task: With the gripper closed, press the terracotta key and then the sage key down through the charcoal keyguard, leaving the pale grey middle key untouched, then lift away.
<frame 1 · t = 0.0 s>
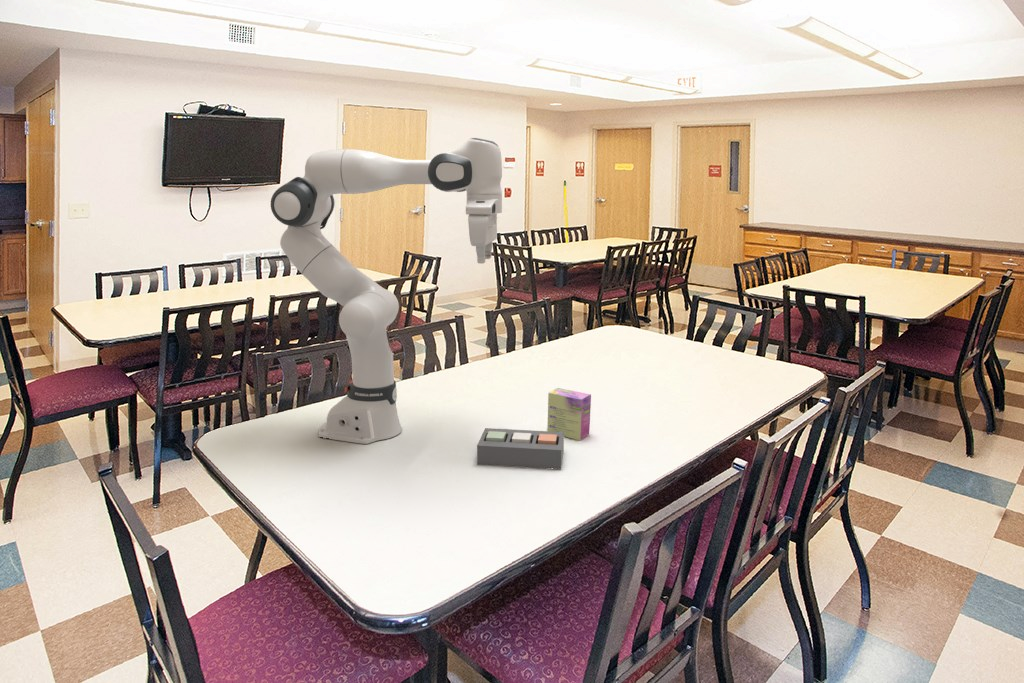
hand: (484, 260, 176), 48 cm above the table, tool pointing down, fingers open, 8 cm apart
keyboard: (521, 457, 174), on the table
key terracotta: (547, 440, 172), point 5 cm above the table, slide at 0.0 cm
key sage: (496, 438, 174), point 5 cm above the table, slide at 0.0 cm
key grey: (521, 439, 173), point 5 cm above the table, slide at 0.0 cm
box: (568, 434, 190), on the table
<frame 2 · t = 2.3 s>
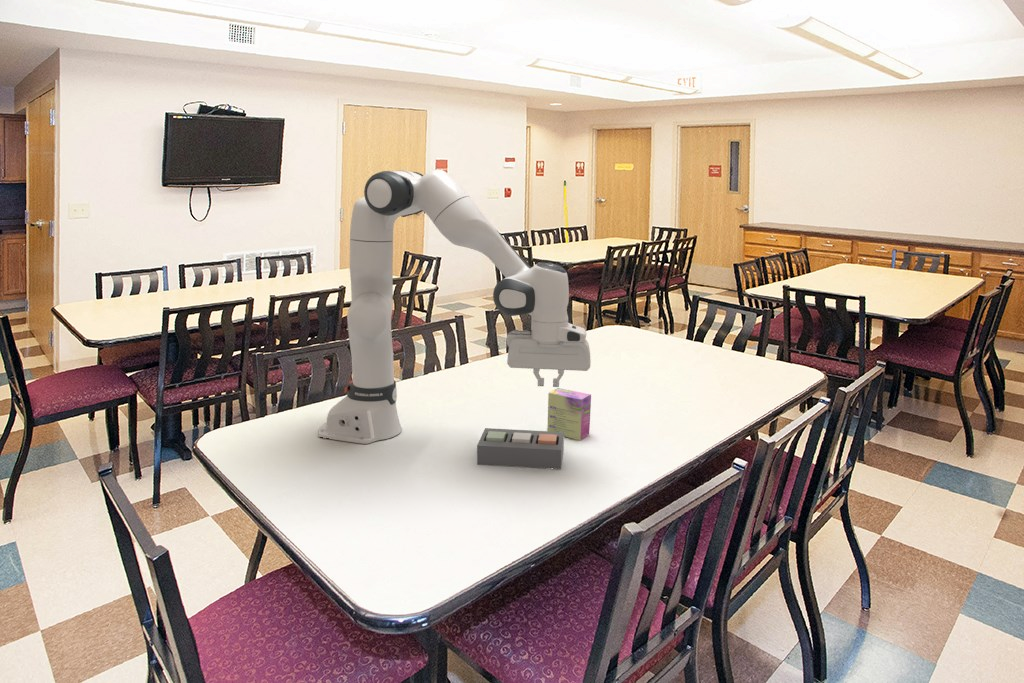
hand: (548, 386, 169), 19 cm above the table, tool pointing down, fingers closed
nothing on the table moved.
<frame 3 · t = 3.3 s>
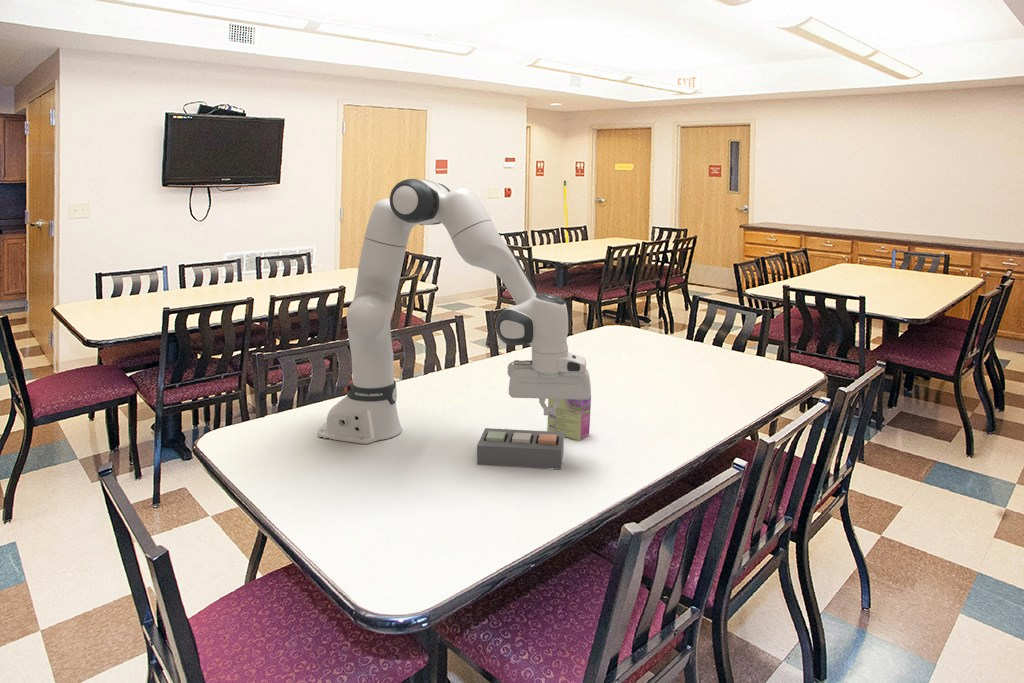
hand: (549, 414, 171), 12 cm above the table, tool pointing down, fingers closed
nothing on the table moved.
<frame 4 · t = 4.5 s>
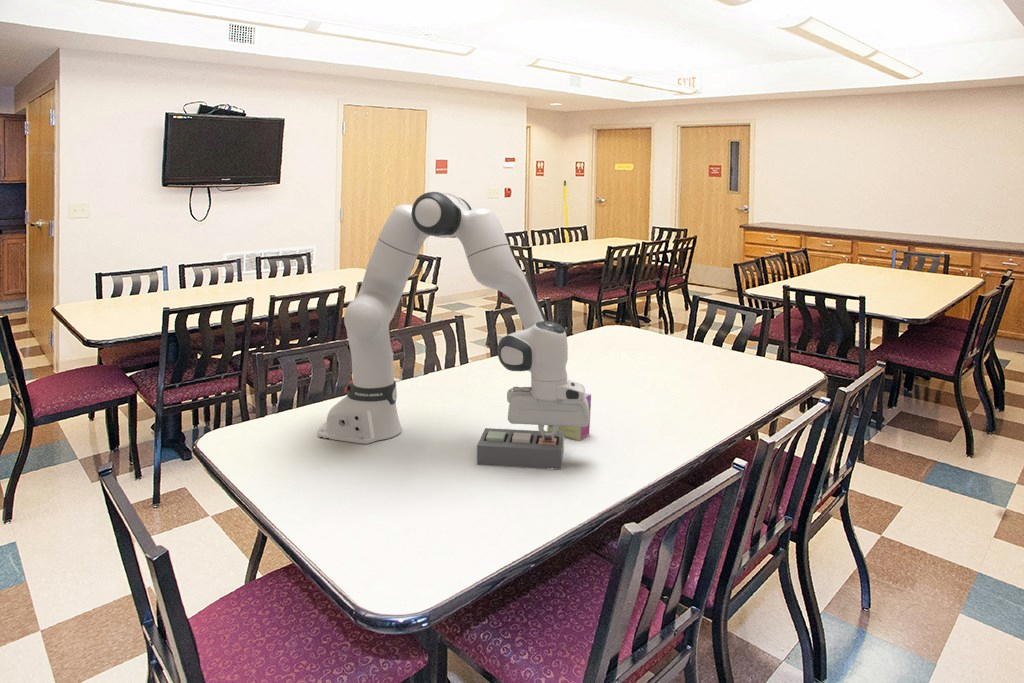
hand: (548, 440, 172), 5 cm above the table, tool pointing down, fingers closed, pressing on key terracotta
key terracotta: (547, 444, 173), point 4 cm above the table, slide at 1.0 cm, touching gripper
everything else where it was.
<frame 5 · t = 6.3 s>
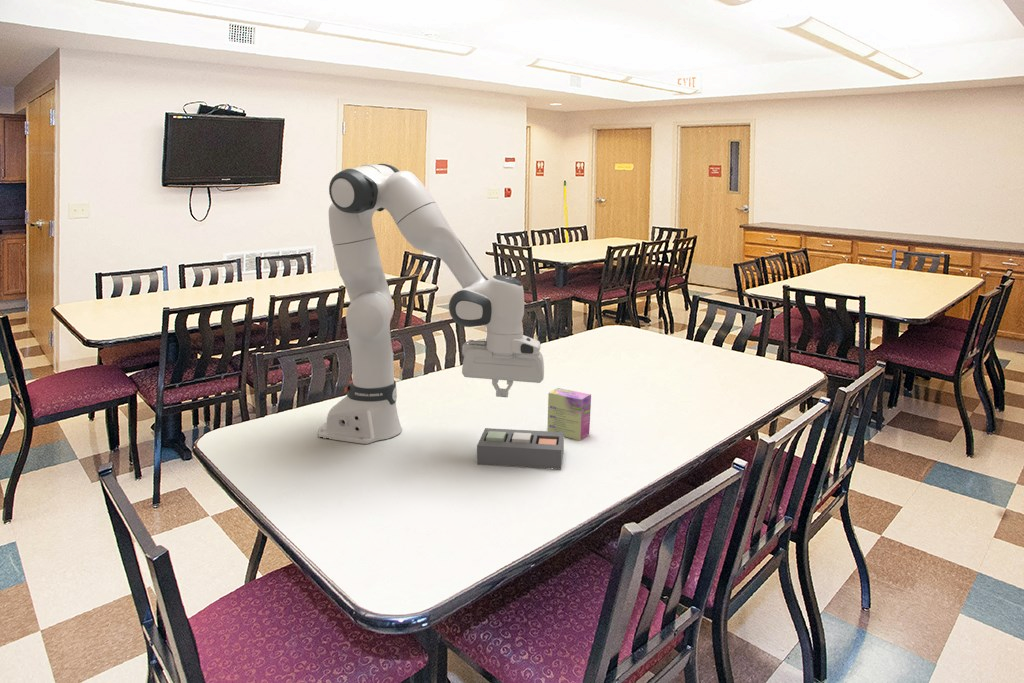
hand: (502, 396, 171), 16 cm above the table, tool pointing down, fingers closed
key terracotta: (547, 445, 173), point 4 cm above the table, slide at 1.3 cm
everything else where it was.
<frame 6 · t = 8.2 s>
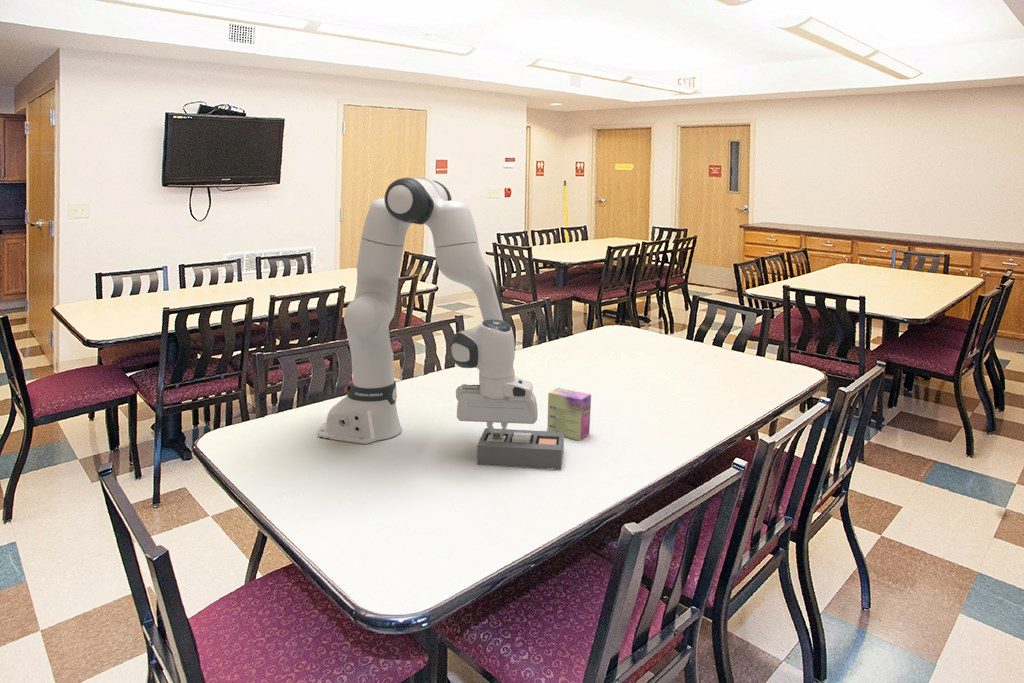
hand: (497, 437, 174), 5 cm above the table, tool pointing down, fingers closed, pressing on key sage
key sage: (496, 441, 174), point 4 cm above the table, slide at 1.0 cm, touching gripper
everything else where it was.
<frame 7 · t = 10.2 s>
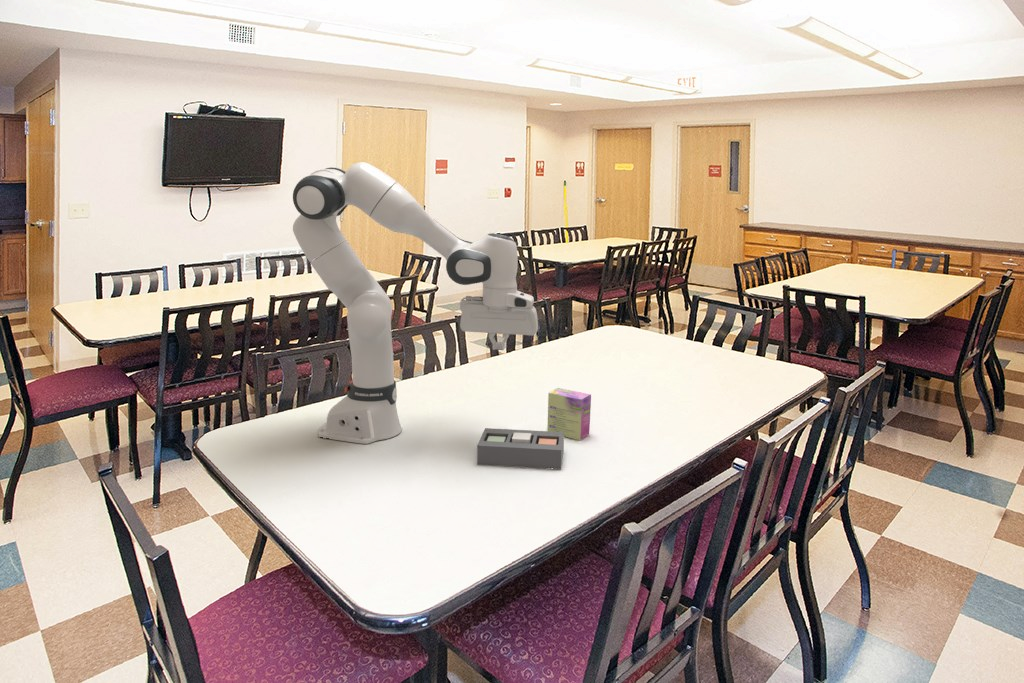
hand: (498, 349, 181), 25 cm above the table, tool pointing down, fingers closed
key sage: (496, 442, 174), point 4 cm above the table, slide at 1.3 cm
everything else where it was.
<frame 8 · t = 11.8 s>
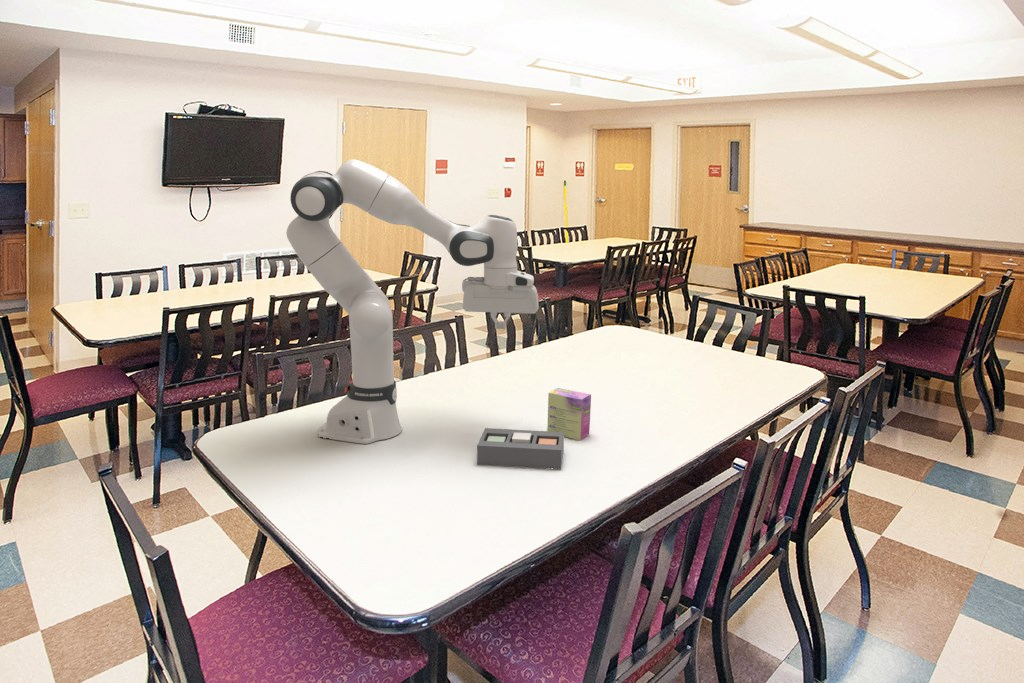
hand: (500, 328, 186), 29 cm above the table, tool pointing down, fingers closed
nothing on the table moved.
at the end: key terracotta slide at 1.3 cm; key sage slide at 1.3 cm; key grey slide at 0.0 cm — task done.
